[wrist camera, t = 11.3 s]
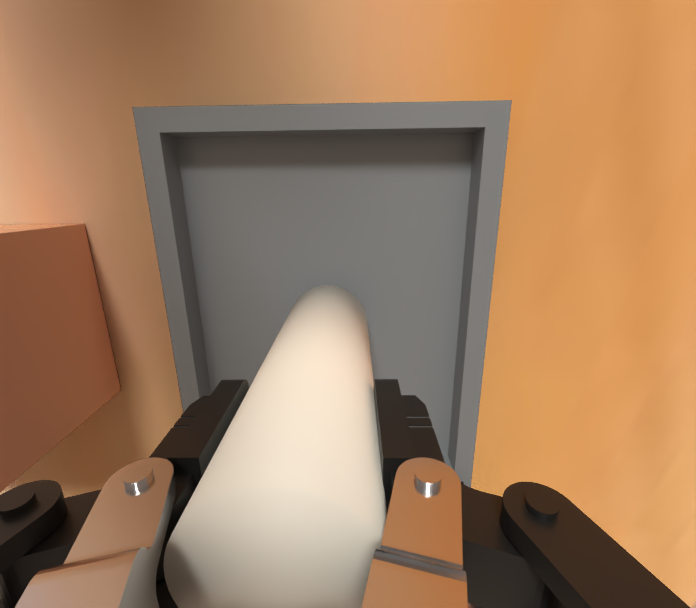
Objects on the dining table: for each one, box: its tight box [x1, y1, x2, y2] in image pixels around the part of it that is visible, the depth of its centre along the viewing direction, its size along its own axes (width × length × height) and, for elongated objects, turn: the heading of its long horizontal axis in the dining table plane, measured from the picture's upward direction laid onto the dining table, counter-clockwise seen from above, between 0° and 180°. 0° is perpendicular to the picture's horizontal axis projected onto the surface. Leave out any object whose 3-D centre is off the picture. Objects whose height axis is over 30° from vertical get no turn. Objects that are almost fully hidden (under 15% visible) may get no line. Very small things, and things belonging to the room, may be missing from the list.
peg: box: [163, 285, 387, 608], centre depth 13 cm, size 4×4×13 cm
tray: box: [132, 100, 512, 488], centre depth 19 cm, size 20×16×2 cm
